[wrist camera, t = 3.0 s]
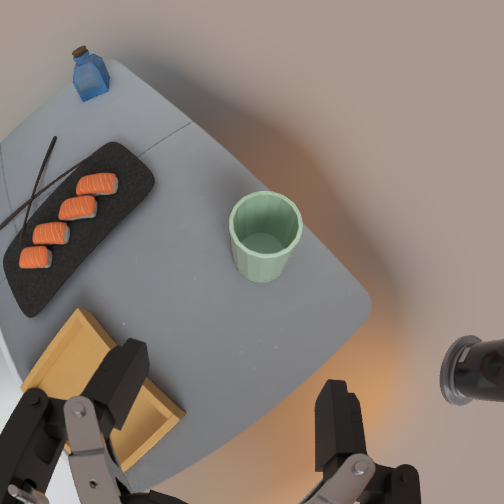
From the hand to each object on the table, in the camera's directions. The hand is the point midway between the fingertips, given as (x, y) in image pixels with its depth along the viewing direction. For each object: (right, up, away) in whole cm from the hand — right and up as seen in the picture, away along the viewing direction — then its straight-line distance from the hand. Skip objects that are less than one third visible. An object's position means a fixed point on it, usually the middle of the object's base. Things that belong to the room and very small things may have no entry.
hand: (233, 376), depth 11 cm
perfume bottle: (-34, +41, +35) cm, 64 cm away
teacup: (+2, +5, +23) cm, 24 cm away
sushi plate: (-32, +14, +26) cm, 44 cm away
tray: (-19, -14, +17) cm, 29 cm away
